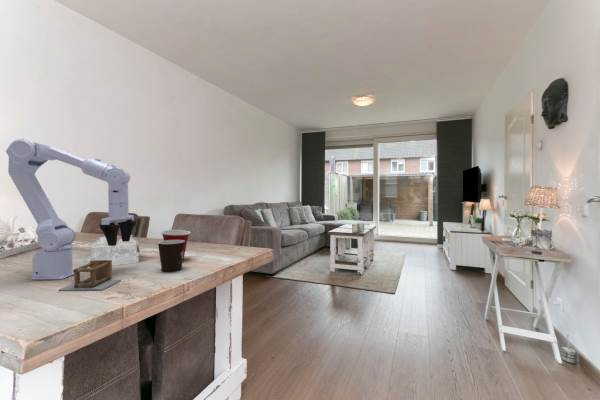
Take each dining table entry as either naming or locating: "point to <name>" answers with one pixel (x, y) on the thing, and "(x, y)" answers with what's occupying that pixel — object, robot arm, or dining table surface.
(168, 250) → the coffee mug
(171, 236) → the plastic cup
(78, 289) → the felt mat
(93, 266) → the stool
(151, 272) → the dining table surface
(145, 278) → the dining table surface
